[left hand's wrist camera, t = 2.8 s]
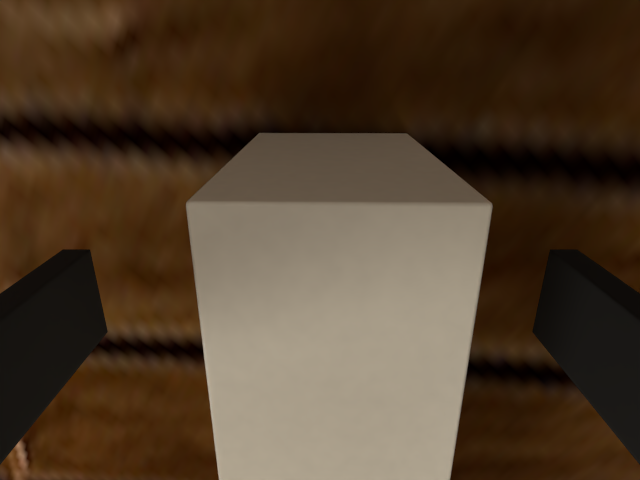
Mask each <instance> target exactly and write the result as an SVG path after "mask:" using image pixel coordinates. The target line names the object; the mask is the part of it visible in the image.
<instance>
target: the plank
mask: <svg viewBox="0 0 640 480" xmlns="http://www.w3.org/2000/svg"><path fill="white" fill-rule="evenodd" d="M492 207H493V206H492V203H491V202H490V201H488V200H487V199H486V198H485V197H484V196H482V195H481V194H480V193H479V192H478V191H476V190H475V189H474V188H473V187H471V186H470V185H469V184H468V183H467V182H465V181H464V180H463V179H462V178H461V177H459V176H458V175H457V174H456V173H454V172H453V171H452V170H451V169H450V168H448V167H447V166H446V165H445V164H443V163H442V162H441V161H440V160H439V159H437V158H436V157H435V156H434V155H433V154H431V153H430V152H429V151H428V150H426V149H425V148H424V147H423V146H422V145H420V144H419V143H418V142H417V141H416V140H414V139H413V138H412V137H411V136H409V135H408V134H406V133H259V134H258V135H257V136H256V137H255V138H253V139H252V140H251V141H250V142H249V143H248V144H247V145H246V146H245V147H244V148H243V149H242V150H241V151H240V152H239V153H238V154H237V155H236V156H235V157H233V158H232V159H231V160H230V161H229V162H228V163H227V164H226V165H225V166H224V167H223V168H222V169H221V170H220V171H219V172H218V173H217V174H216V175H214V176H213V177H212V178H211V179H210V180H209V181H208V182H207V183H206V184H205V185H204V186H203V187H202V188H201V189H200V190H199V191H198V192H197V193H195V194H194V195H193V196H192V197H191V198H190V199H189V200H188V201H187V203H186V210H187V219H188V227H189V235H190V244H191V252H192V260H193V268H194V277H195V285H196V293H197V301H198V310H199V318H200V326H201V334H202V343H203V351H204V359H205V367H206V376H207V384H208V392H209V400H210V409H211V417H212V425H213V434H214V442H215V450H216V458H217V467H218V475H219V480H450V477H451V470H452V464H453V457H454V451H455V445H456V438H457V432H458V425H459V419H460V413H461V406H462V400H463V393H464V387H465V380H466V374H467V368H468V361H469V355H470V348H471V342H472V336H473V329H474V323H475V316H476V310H477V304H478V297H479V291H480V284H481V278H482V271H483V265H484V259H485V252H486V246H487V239H488V233H489V227H490V220H491V214H492Z"/></svg>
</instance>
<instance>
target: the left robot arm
mask: <svg viewBox="0 0 640 480" xmlns="http://www.w3.org/2000/svg"><path fill="white" fill-rule="evenodd" d="M106 333H107V327H106V322H105V318H104V313H103V308H102V304H101V299H100V294H99V290H98V285H97V280H96V276H95V271H94V266H93V262H92V257H91V252H90V250H62V251H60V252H59V253H57V254H56V255H55V256H53V257H52V258H50V259H49V260H48V261H46V262H45V263H43V264H42V265H40V266H39V267H38V268H36V269H35V270H33V271H32V272H30V273H29V274H28V275H26V276H25V277H23V278H22V279H20V280H19V281H18V282H16V283H15V284H13V285H12V286H10V287H9V288H8V289H6V290H5V291H3V292H2V293H0V464H1V463H2V462H3V460H4V459H5V458H6V457H7V455H8V454H9V453H10V452H11V451H12V449H13V448H14V447H15V446H16V444H17V443H18V442H19V441H20V439H21V438H22V437H23V436H24V434H25V433H26V432H27V431H28V430H29V428H30V427H31V426H32V425H33V423H34V422H35V421H36V420H37V418H38V417H39V416H40V415H41V413H42V412H43V411H44V410H45V409H46V407H47V406H48V405H49V404H50V402H51V401H52V400H53V399H54V397H55V396H56V395H57V394H58V392H59V391H60V390H61V389H62V387H63V386H64V385H65V384H66V383H67V381H68V380H69V379H70V378H71V376H72V375H73V374H74V373H75V371H76V370H77V369H78V368H79V366H80V365H81V364H82V363H83V362H84V360H85V359H86V358H87V357H88V355H89V354H90V353H91V352H92V350H93V349H94V348H95V347H96V345H97V344H98V343H99V342H100V341H101V339H102V338H103V337H104V336H105V334H106ZM533 333H534V334H535V336H536V337H537V338H538V339H539V341H540V342H541V343H542V344H543V345H544V347H545V348H546V349H547V350H548V352H549V353H550V354H551V355H552V357H553V358H554V359H555V360H556V362H557V363H558V364H559V365H560V366H561V368H562V369H563V370H564V371H565V373H566V374H567V375H568V376H569V378H570V379H571V380H572V381H573V383H574V384H575V385H576V386H577V387H578V389H579V390H580V391H581V392H582V394H583V395H584V396H585V397H586V399H587V400H588V401H589V402H590V404H591V405H592V406H593V407H594V409H595V410H596V411H597V412H598V413H599V415H600V416H601V417H602V418H603V420H604V421H605V422H606V423H607V425H608V426H609V427H610V428H611V430H612V431H613V432H614V433H615V434H616V436H617V437H618V438H619V439H620V441H621V442H622V443H623V444H624V446H625V447H626V448H627V449H628V451H629V452H630V453H631V454H632V455H633V457H634V458H635V459H636V460H637V462H638V463H639V464H640V294H639V293H638V292H637V291H635V290H634V289H632V288H631V287H630V286H628V285H627V284H625V283H624V282H622V281H621V280H620V279H618V278H617V277H615V276H614V275H612V274H611V273H610V272H608V271H607V270H605V269H604V268H602V267H601V266H600V265H598V264H597V263H595V262H594V261H592V260H591V259H590V258H588V257H587V256H585V255H584V254H582V253H581V252H580V251H578V250H550V252H549V257H548V262H547V266H546V271H545V276H544V280H543V285H542V290H541V294H540V299H539V304H538V308H537V313H536V318H535V322H534V327H533Z"/></svg>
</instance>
